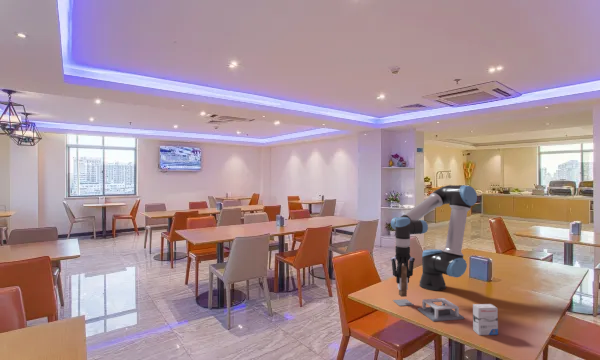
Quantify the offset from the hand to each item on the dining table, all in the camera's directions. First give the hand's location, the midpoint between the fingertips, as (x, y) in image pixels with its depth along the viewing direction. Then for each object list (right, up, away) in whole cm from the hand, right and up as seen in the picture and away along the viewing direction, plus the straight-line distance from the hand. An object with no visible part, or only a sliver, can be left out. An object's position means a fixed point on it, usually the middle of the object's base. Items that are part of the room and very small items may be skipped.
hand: (402, 289), depth 174 cm
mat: (0, -8, 0) cm, 8 cm away
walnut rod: (0, -4, 0) cm, 4 cm away
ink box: (+25, -8, -34) cm, 43 cm away
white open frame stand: (+14, -7, -15) cm, 22 cm away
